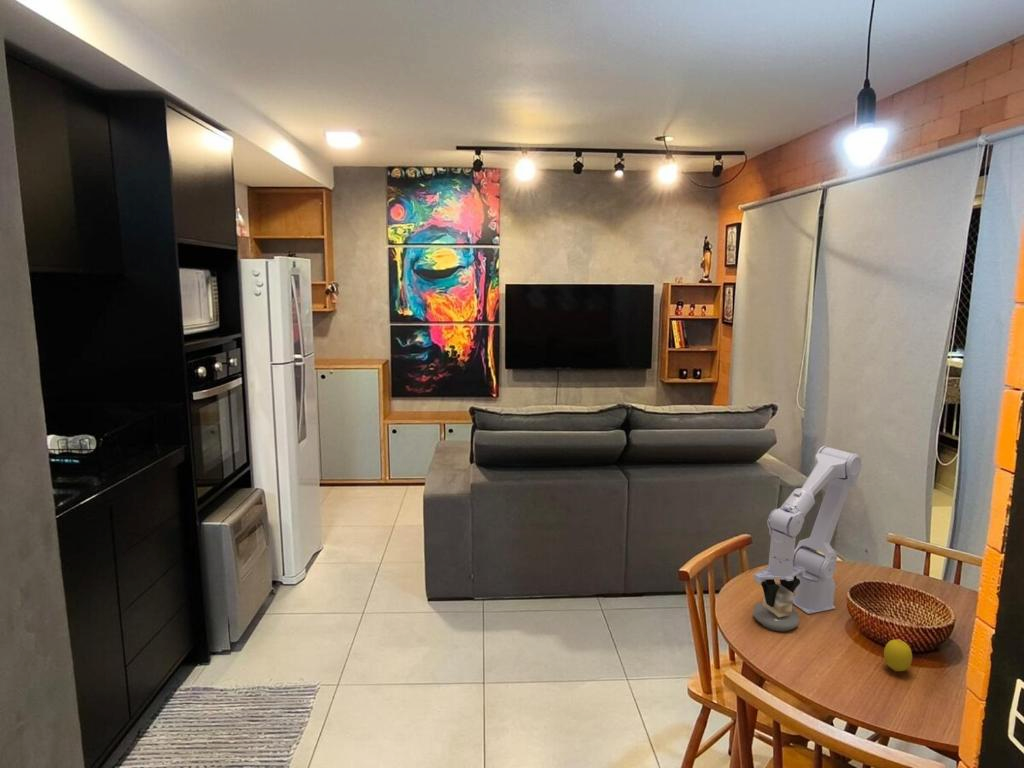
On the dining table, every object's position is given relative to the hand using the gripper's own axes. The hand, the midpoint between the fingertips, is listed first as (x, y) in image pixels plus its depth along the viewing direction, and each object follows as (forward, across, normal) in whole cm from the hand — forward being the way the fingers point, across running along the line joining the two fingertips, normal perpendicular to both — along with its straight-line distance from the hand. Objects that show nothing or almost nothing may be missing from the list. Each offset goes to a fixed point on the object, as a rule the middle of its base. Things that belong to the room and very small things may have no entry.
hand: (776, 603), depth 162 cm
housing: (+2, 0, 0) cm, 2 cm away
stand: (+5, 0, 0) cm, 5 cm away
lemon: (+5, +12, -25) cm, 28 cm away
